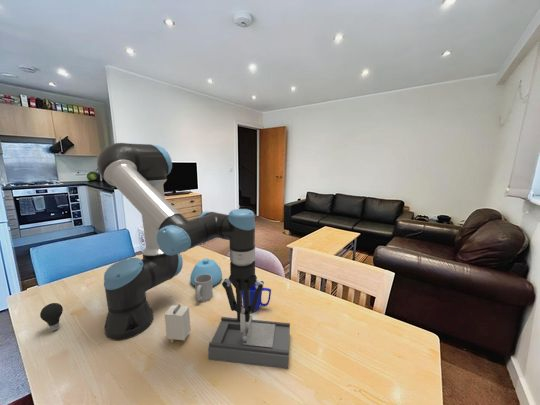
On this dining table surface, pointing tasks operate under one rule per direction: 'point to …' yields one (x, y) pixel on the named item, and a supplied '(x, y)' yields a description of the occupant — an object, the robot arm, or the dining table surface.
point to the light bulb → (52, 315)
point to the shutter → (258, 334)
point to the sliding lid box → (232, 350)
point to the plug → (177, 323)
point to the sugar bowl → (207, 271)
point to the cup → (203, 287)
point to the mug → (252, 293)
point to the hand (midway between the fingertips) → (243, 329)
